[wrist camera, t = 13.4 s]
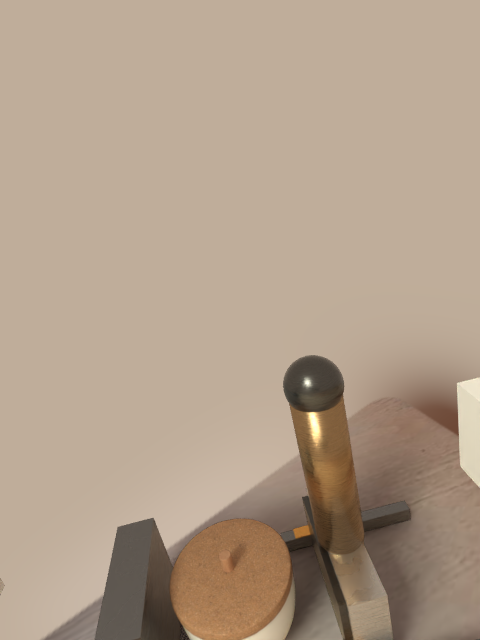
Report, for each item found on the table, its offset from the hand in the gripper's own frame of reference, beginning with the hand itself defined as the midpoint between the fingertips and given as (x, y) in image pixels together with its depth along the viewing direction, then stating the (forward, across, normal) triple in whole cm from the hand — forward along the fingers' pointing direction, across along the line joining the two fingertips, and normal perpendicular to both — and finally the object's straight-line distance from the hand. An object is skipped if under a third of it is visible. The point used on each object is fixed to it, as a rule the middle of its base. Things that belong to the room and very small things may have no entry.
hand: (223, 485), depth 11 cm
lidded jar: (+18, -4, -32) cm, 37 cm away
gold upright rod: (+18, +6, -32) cm, 37 cm away
